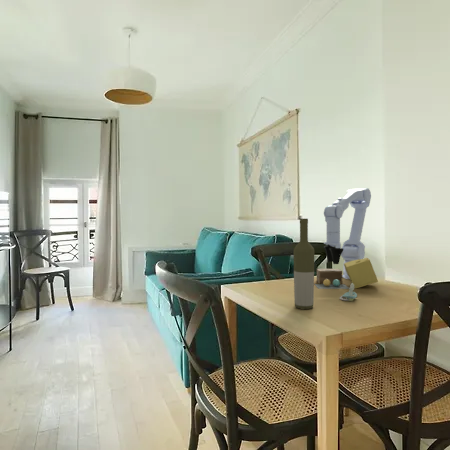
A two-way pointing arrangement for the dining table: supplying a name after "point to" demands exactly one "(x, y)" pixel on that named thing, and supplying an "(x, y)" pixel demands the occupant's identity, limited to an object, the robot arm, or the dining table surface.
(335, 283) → the marble teal
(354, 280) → the cheese
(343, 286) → the mat
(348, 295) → the pacifier
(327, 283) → the marble amber
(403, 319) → the dining table surface
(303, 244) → the bottle
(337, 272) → the walnut cover
